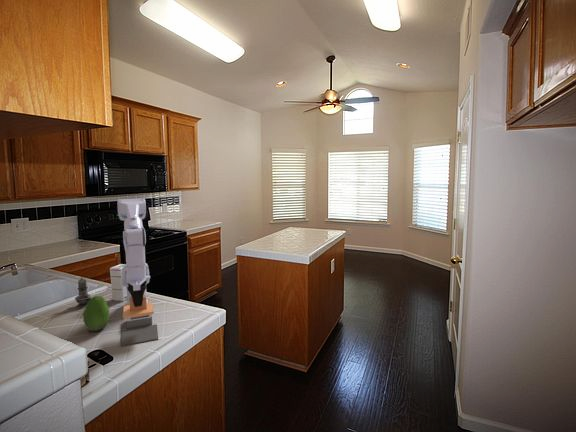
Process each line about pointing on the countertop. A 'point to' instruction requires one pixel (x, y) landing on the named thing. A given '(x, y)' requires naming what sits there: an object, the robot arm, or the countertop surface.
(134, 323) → the box
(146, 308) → the lid
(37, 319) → the countertop surface
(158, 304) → the countertop surface
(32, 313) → the countertop surface
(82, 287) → the candlestick holder
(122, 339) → the mat
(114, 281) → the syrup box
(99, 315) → the avocado
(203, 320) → the countertop surface
